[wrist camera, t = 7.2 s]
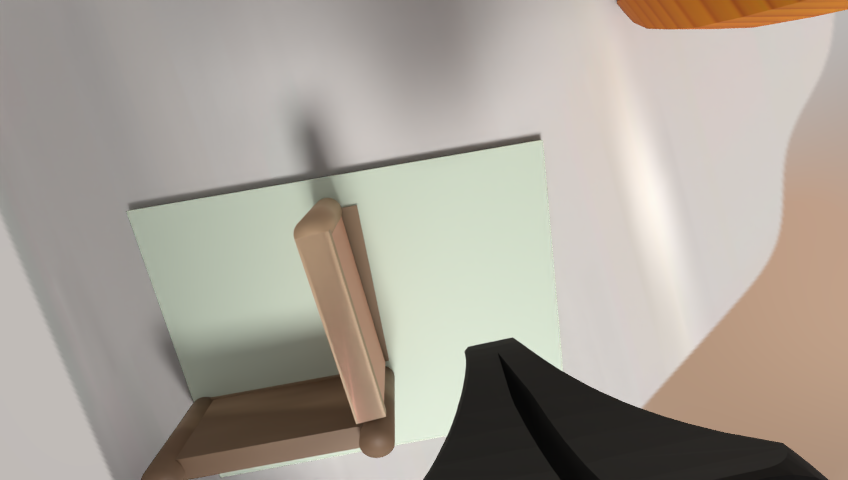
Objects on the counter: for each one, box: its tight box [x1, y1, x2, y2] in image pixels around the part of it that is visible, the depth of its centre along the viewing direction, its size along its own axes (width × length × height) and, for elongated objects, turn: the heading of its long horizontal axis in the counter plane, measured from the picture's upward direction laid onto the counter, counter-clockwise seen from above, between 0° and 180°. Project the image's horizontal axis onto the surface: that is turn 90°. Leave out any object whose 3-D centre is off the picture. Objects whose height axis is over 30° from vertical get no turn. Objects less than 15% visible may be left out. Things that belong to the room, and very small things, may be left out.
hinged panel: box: [293, 198, 386, 424], centre depth 18 cm, size 1×8×4 cm, turn 14°
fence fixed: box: [141, 366, 395, 480], centre depth 19 cm, size 1×10×4 cm, turn 99°
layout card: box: [126, 140, 563, 478], centre depth 21 cm, size 14×18×1 cm
